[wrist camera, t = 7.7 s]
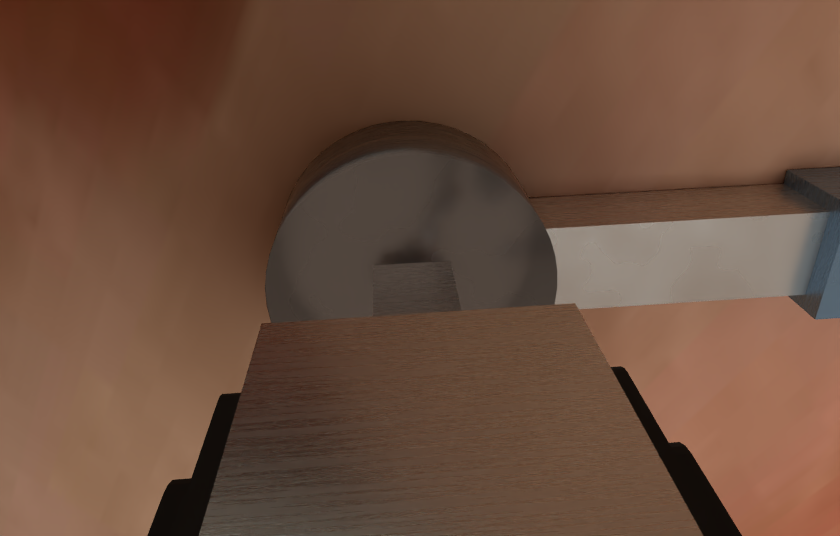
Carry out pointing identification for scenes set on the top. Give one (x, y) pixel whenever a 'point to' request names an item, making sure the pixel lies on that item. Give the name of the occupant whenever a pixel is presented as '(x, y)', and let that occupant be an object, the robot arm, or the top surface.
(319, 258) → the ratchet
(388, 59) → the top surface
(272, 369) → the white cube
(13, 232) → the top surface
